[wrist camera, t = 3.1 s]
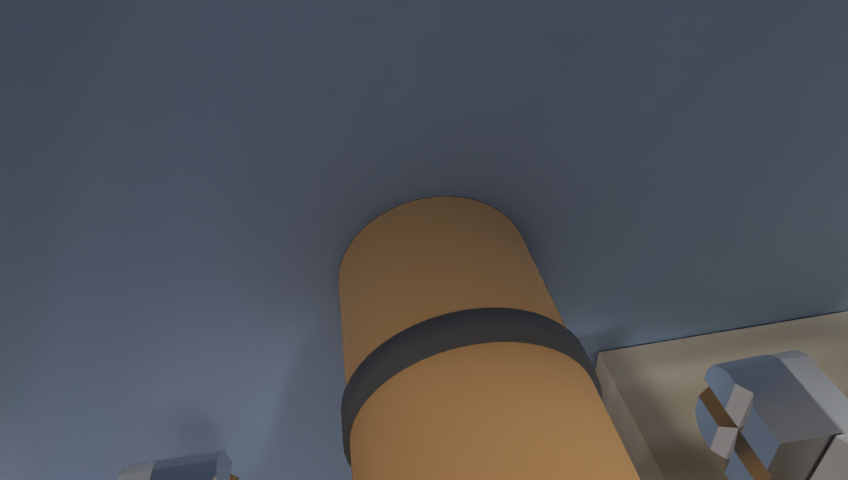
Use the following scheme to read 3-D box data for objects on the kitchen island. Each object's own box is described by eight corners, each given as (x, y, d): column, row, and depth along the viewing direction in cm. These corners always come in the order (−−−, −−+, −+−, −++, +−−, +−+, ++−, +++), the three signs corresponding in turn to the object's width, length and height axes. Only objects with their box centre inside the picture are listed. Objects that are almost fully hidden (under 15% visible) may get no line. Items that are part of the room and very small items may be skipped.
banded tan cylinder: (318, 208, 11) (331, 626, 6) (537, 178, 11) (755, 540, 6) (347, 359, 14) (378, 747, 8) (526, 330, 14) (670, 682, 8)
